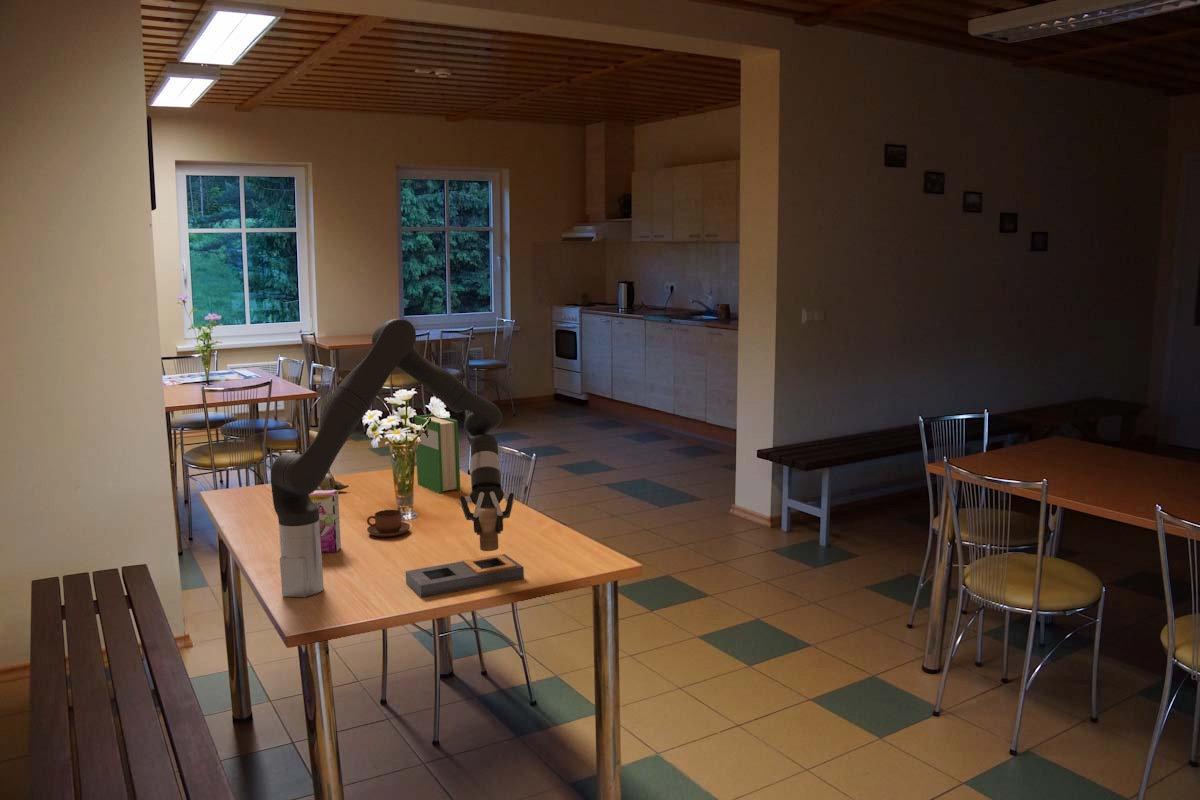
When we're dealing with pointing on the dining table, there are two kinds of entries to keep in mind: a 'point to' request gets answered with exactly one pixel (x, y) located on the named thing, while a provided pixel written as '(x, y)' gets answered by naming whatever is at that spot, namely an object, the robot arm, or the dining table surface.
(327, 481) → the ceramic sculpture
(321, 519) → the candy bar box
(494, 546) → the walnut peg
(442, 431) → the hardback book
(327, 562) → the dining table surface
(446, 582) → the grey peg board
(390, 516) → the cup and saucer
